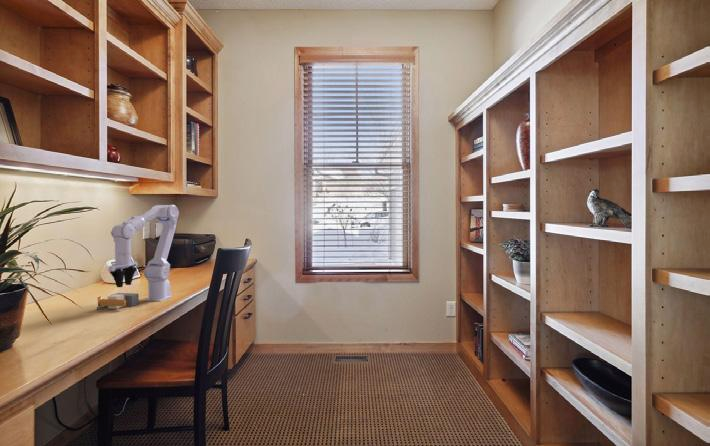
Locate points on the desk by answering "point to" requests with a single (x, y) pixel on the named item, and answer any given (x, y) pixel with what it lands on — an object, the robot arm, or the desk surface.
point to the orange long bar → (111, 302)
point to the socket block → (131, 300)
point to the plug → (116, 296)
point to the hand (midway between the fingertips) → (124, 286)
